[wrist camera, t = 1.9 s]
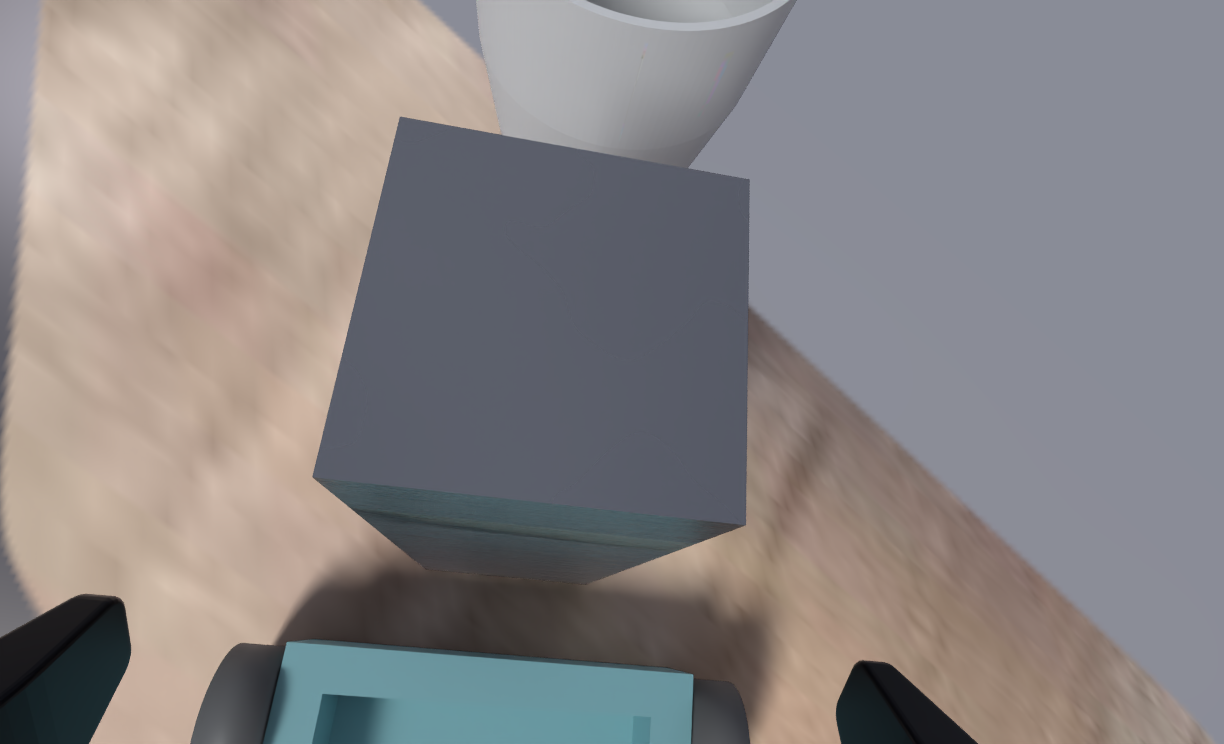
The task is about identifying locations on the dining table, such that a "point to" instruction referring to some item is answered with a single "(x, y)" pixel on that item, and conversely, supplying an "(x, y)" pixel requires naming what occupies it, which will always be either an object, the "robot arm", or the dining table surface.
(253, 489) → the dining table surface
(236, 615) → the dining table surface
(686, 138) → the cup
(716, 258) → the grey tall block
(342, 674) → the chassis
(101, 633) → the robot arm
